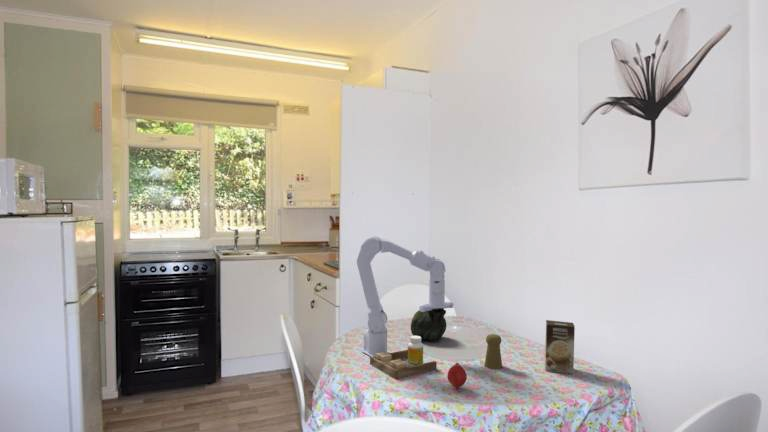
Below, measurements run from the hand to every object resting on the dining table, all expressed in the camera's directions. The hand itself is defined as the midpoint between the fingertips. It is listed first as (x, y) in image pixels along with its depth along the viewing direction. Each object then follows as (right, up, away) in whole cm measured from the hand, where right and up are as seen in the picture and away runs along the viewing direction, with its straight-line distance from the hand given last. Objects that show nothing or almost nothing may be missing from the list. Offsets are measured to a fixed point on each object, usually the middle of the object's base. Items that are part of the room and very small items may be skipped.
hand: (436, 329), depth 164 cm
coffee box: (+41, -11, -12) cm, 44 cm away
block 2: (-15, -11, -17) cm, 25 cm away
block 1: (-20, -11, -9) cm, 24 cm away
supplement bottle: (-8, -11, -8) cm, 16 cm away
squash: (-1, -10, +23) cm, 26 cm away
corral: (-13, -10, -10) cm, 19 cm away
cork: (+19, -11, -9) cm, 24 cm away
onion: (+3, -11, -29) cm, 31 cm away
